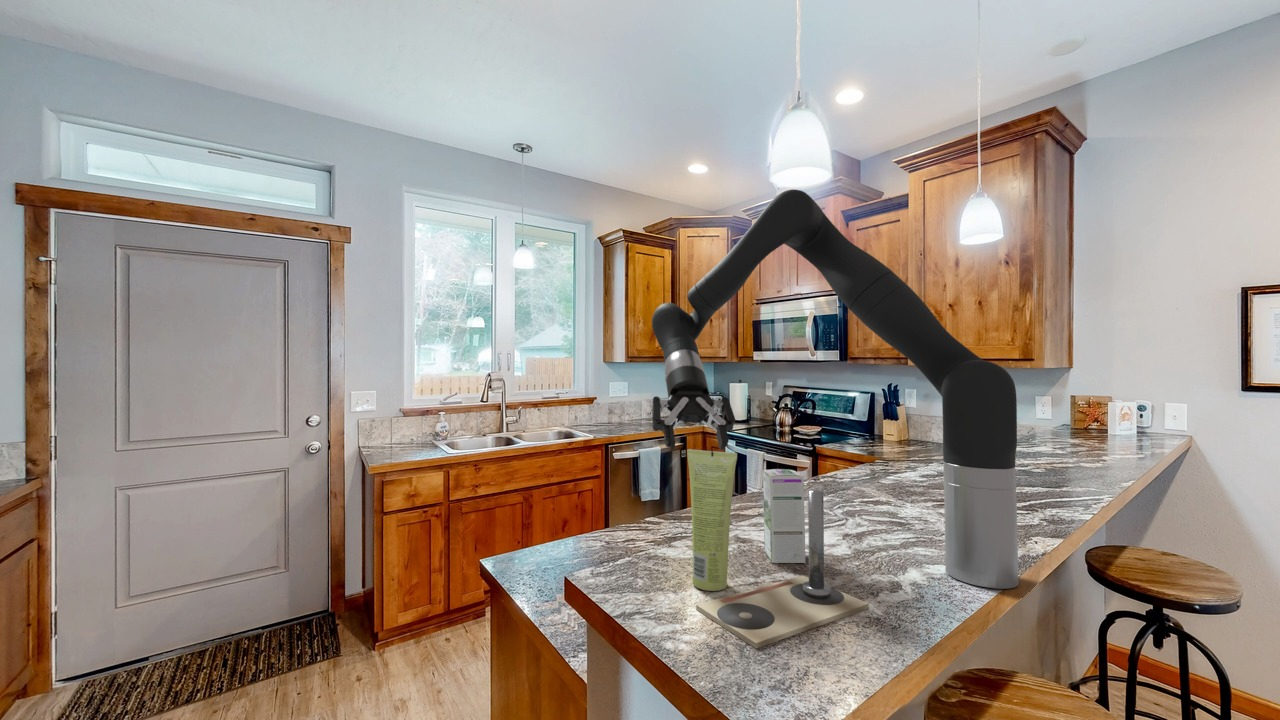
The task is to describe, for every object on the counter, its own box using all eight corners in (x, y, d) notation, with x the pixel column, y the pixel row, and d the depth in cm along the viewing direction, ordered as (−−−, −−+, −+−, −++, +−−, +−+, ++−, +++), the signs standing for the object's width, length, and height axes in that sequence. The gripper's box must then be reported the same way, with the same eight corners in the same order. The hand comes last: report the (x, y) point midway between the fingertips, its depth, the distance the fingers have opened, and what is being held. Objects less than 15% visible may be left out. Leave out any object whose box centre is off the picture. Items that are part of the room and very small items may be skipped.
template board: (802, 579, 75) (802, 575, 75) (868, 608, 65) (868, 603, 65) (696, 609, 65) (696, 604, 65) (756, 648, 55) (755, 642, 55)
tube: (720, 576, 76) (720, 447, 77) (737, 589, 71) (737, 452, 72) (686, 581, 74) (686, 449, 75) (702, 595, 69) (702, 453, 70)
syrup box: (806, 564, 81) (806, 474, 82) (770, 564, 81) (770, 474, 82) (796, 552, 87) (795, 468, 88) (762, 552, 87) (762, 468, 88)
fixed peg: (814, 586, 71) (814, 487, 72) (836, 595, 68) (835, 492, 68) (797, 591, 69) (796, 489, 70) (818, 601, 66) (817, 494, 67)
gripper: (650, 363, 91) (657, 432, 79) (725, 364, 93) (744, 432, 81) (646, 392, 96) (653, 461, 84) (718, 392, 98) (735, 460, 86)
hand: (698, 447), depth 83 cm, fingers open, 8 cm apart
